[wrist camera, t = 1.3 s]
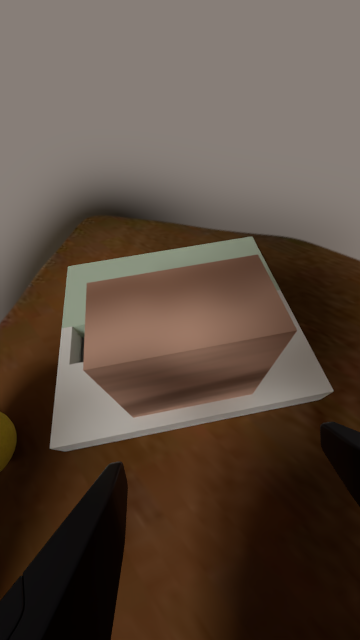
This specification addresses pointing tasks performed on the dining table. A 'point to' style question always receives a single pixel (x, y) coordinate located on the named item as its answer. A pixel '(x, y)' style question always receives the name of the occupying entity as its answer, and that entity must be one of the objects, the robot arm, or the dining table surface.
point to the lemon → (6, 440)
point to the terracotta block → (184, 334)
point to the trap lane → (117, 424)
